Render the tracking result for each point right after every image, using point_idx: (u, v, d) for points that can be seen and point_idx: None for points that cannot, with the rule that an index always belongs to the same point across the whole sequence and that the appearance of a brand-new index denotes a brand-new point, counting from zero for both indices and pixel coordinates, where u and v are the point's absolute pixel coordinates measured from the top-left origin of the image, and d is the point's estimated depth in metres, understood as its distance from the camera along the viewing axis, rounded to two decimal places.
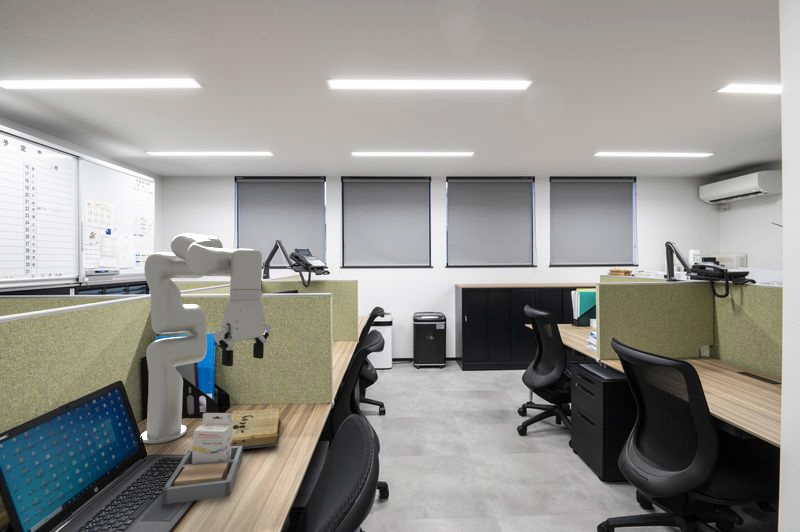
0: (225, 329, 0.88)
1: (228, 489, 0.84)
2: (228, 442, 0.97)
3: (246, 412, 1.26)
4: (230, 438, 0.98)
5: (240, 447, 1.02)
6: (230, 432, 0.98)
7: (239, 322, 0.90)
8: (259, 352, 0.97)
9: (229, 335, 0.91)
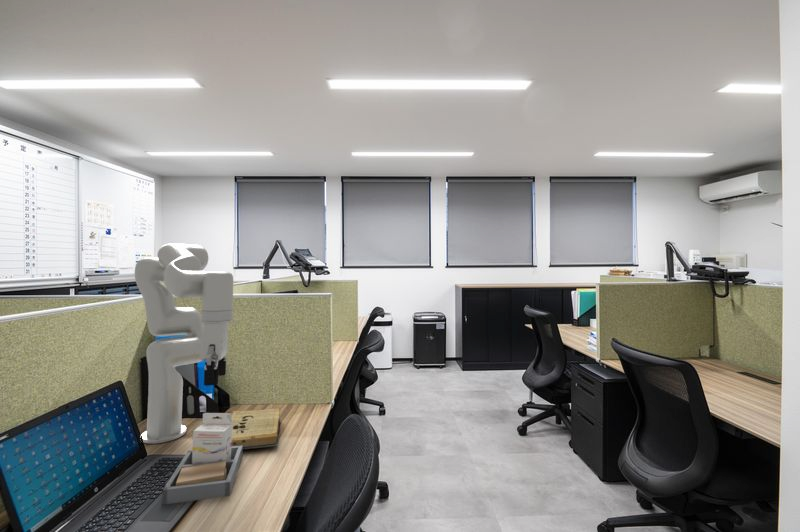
0: (213, 350, 0.92)
1: (228, 489, 0.84)
2: (228, 442, 0.97)
3: (246, 412, 1.26)
4: (230, 438, 0.98)
5: (240, 447, 1.02)
6: (230, 432, 0.98)
7: (222, 342, 0.95)
8: (222, 369, 1.02)
9: None
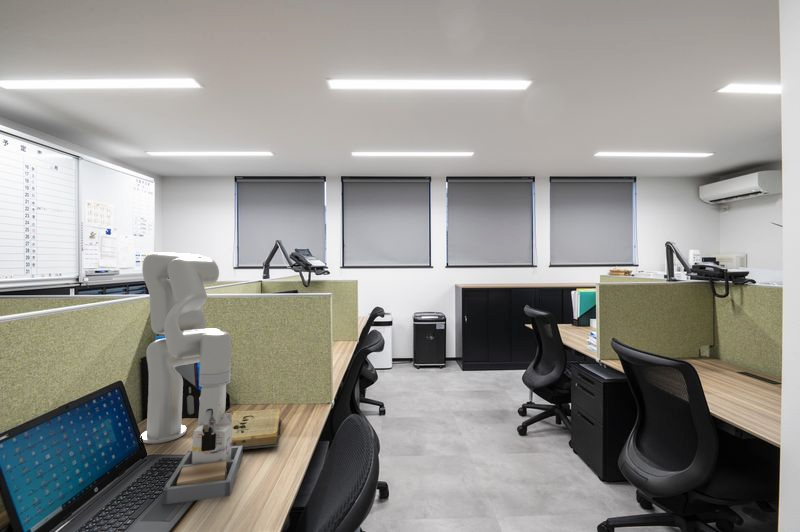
0: (210, 415, 0.91)
1: (228, 489, 0.84)
2: (228, 442, 0.97)
3: (247, 412, 1.26)
4: (230, 438, 0.98)
5: (240, 447, 1.02)
6: (230, 432, 0.98)
7: (220, 405, 0.94)
8: None
9: None
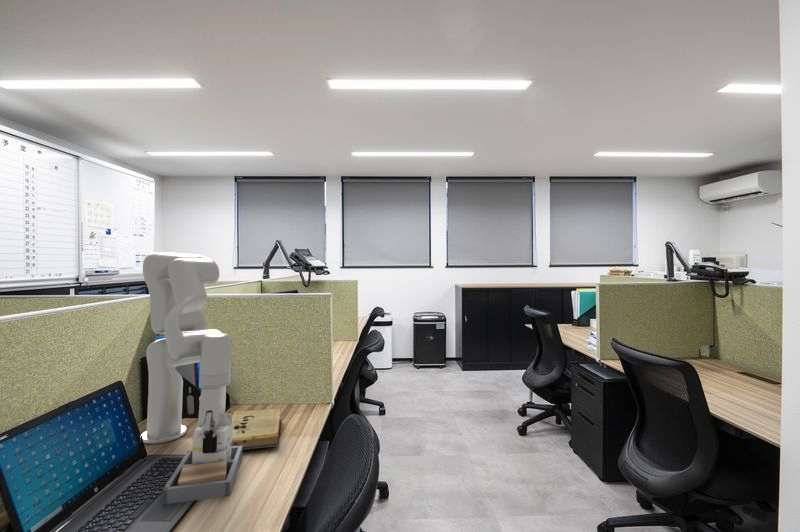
0: (211, 419, 0.92)
1: (228, 489, 0.84)
2: (228, 442, 0.97)
3: (247, 412, 1.26)
4: (230, 438, 0.98)
5: (240, 447, 1.02)
6: (230, 432, 0.98)
7: (220, 407, 0.94)
8: None
9: None
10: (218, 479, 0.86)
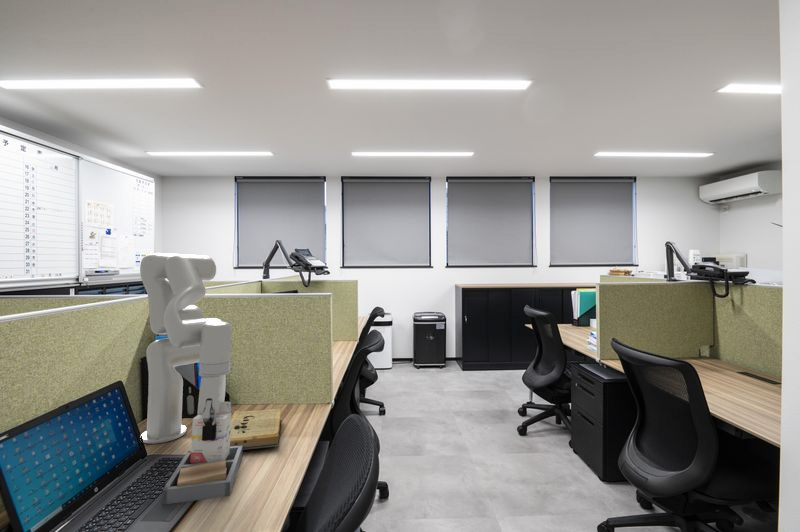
0: (210, 407, 0.92)
1: (228, 489, 0.84)
2: (227, 430, 0.98)
3: (247, 412, 1.26)
4: (229, 426, 0.99)
5: (240, 447, 1.02)
6: (229, 420, 0.99)
7: (219, 395, 0.95)
8: None
9: None
10: (218, 478, 0.86)
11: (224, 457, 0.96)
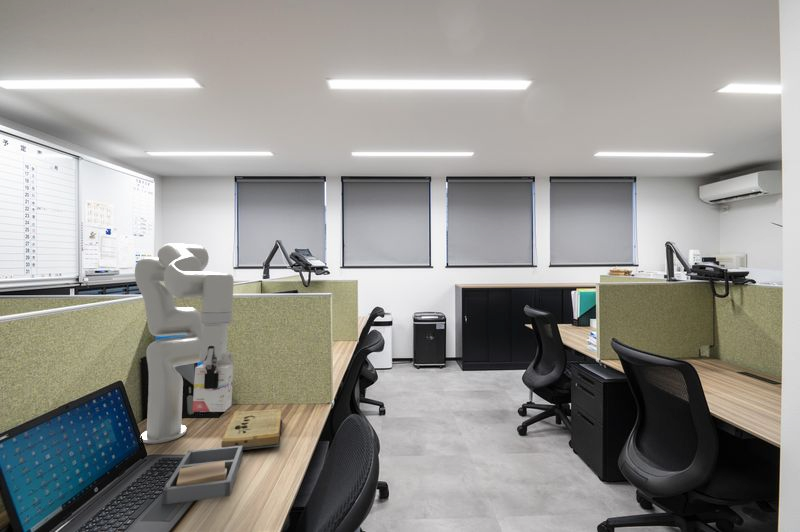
0: (212, 355, 0.93)
1: (228, 489, 0.84)
2: (229, 380, 0.98)
3: (248, 412, 1.26)
4: (231, 377, 0.99)
5: (240, 447, 1.02)
6: (231, 371, 0.99)
7: (221, 344, 0.95)
8: None
9: None
10: (217, 479, 0.86)
11: (226, 406, 0.96)
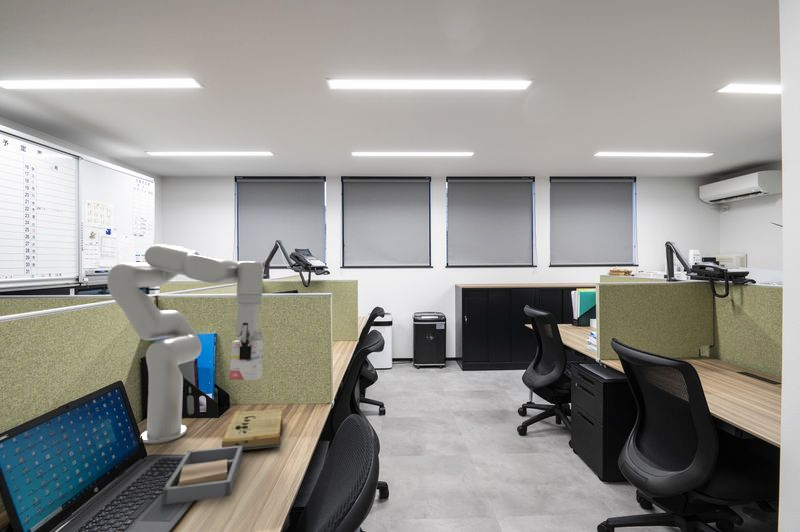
0: (246, 330, 1.08)
1: (228, 489, 0.84)
2: (260, 353, 1.13)
3: (248, 413, 1.26)
4: (261, 351, 1.15)
5: (240, 447, 1.02)
6: (261, 346, 1.15)
7: (254, 321, 1.11)
8: None
9: (242, 333, 1.10)
10: (219, 477, 0.86)
11: (258, 376, 1.12)
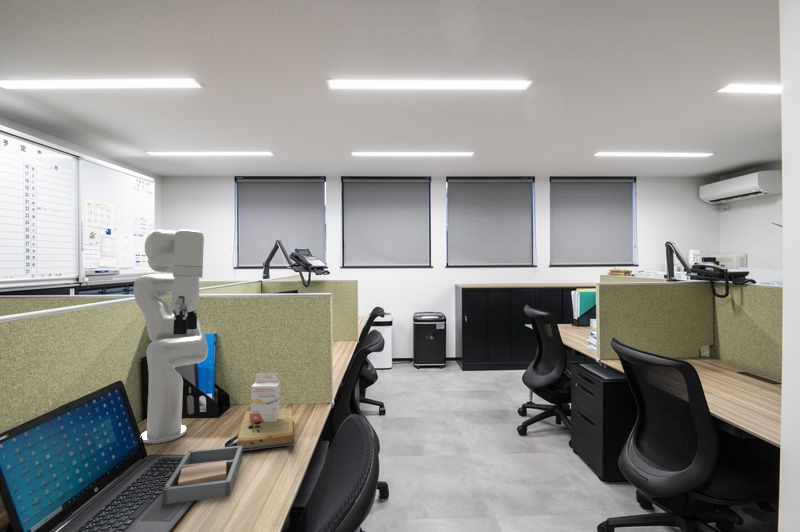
0: (182, 301, 0.98)
1: (228, 489, 0.84)
2: (278, 395, 1.19)
3: None
4: (279, 393, 1.21)
5: (240, 447, 1.02)
6: (279, 388, 1.20)
7: (192, 295, 1.01)
8: (193, 323, 1.08)
9: None
10: (218, 479, 0.86)
11: (277, 417, 1.18)
